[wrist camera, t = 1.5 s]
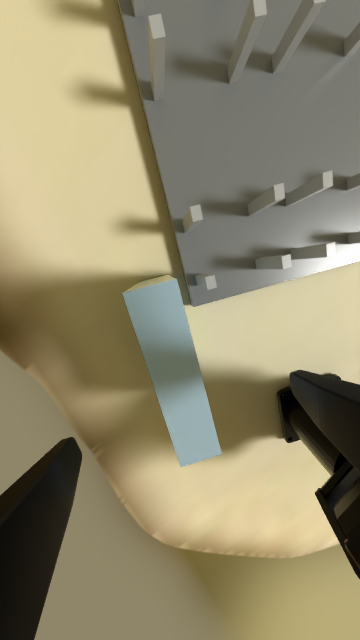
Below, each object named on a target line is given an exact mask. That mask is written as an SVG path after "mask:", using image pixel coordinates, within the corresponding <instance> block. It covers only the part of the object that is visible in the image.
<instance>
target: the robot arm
mask: <svg viewBox="0 0 360 640" xmlns="http://www.w3.org/2000/svg"><path fill="white" fill-rule="evenodd" d="M290 383H291V387H289V388H285V389H282V390H280V391H279V392H278V395H277V396H278V403H279V410H280V417H281V424H282V431H283V437H284V439H285V441H286V442H287V443H291V442H294V441H298V440H302V442H303V443H304V444H305V445H306V446H307V448H308V449H309V450H310V451H311V452H312V454H313V455H314V456H315V457H316V458H317V459H318V461H319V462H320V463H321V464H322V465H323V467H324V468H325V469H326V470H327V471H328V472H329V474H330V475H331V477H330V478H329V479H328V481H327V482H326V483H325V484H324V485H323V486H322V487H321V488H318V490H317V491H316V492H315V495H316V497H317V499H318V501H319V503H320V505H321V507H322V509H323V511H324V513H325V515H326V517H327V519H328V521H329V523H330V525H331V527H332V529H333V531H334V533H335V535H336V537H337V538H338V540H339V542H340V544H341V546H342V548H343V550H344V552H345V554H346V556H347V558H348V560H349V562H350V564H351V566H352V567H353V570H354V571H355V573H356V575H357V576H358V578H359V579H360V385H359V384H355V383H351V382H347V381H343V380H341V378H340V377H339V376H337V375H336V374H332V375H329V376H323V375H319V374H315V373H311V372H308V371H304V370H297V371H293V372H291V373H290ZM283 394H284V395H283ZM282 395H283V396H282ZM81 461H82V453H81V450H80V448H79V446H78V444H77V442H76V440H75V439H74V438H73V437H69V438H66V439H62V440H61V441H60V442H59V443H57V444H56V445H55V446H54V447H53V448H52V449H51V450H50V451H49V452H48V453H46V454H45V455H44V456H43V457H42V458H41V459H40V460H39V461H38V462H37V463H36V464H34V465H33V466H32V467H31V468H30V469H29V470H28V471H27V472H26V473H24V474H23V475H22V476H21V477H20V478H19V479H18V480H17V481H16V482H15V483H14V484H12V485H11V486H10V487H9V488H8V489H7V490H6V491H5V492H4V493H3V494H1V495H0V640H34V638H35V635H36V631H37V628H38V624H39V621H40V617H41V614H42V610H43V607H44V603H45V600H46V596H47V593H48V589H49V586H50V583H51V579H52V576H53V572H54V569H55V565H56V562H57V558H58V555H59V551H60V548H61V544H62V541H63V537H64V534H65V530H66V527H67V523H68V520H69V516H70V513H71V509H72V505H73V501H74V496H75V491H76V486H77V481H78V476H79V471H80V466H81Z"/></svg>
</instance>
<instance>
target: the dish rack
mask: <svg viewBox="0 0 360 640" xmlns="http://www.w3.org/2000/svg"><path fill="white" fill-rule="evenodd" d="M117 3H118V7H119V11H120V15H121V19H122V23H123V27H124V31H125V35H126V39H127V43H128V48H129V52H130V56H131V60H132V64H133V68H134V72H135V76H136V80H137V84H138V88H139V92H140V96H141V101H142V105H143V109H144V113H145V117H146V121H147V125H148V129H149V133H150V137H151V141H152V145H153V149H154V154H155V158H156V162H157V166H158V170H159V174H160V178H161V182H162V186H163V190H164V194H165V198H166V202H167V207H168V211H169V215H170V219H171V223H172V227H173V231H174V235H175V239H176V243H177V247H178V251H179V255H180V260H181V264H182V268H183V272H184V276H185V280H186V284H187V288H188V292H189V296H190V300H191V304H192V306H193V307H195V306H199V305H202V304H206V303H210V302H213V301H217V300H220V299H224V298H228V297H231V296H235V295H238V294H242V293H246V292H249V291H253V290H257V289H260V288H264V287H267V286H271V285H275V284H278V283H282V282H285V281H289V280H293V279H296V278H300V277H303V276H307V275H311V274H314V273H318V272H321V271H325V270H329V269H332V268H336V267H340V266H343V265H347V264H350V263H354V262H358V261H360V0H117Z"/></svg>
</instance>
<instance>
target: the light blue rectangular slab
mask: <svg viewBox="0 0 360 640" xmlns="http://www.w3.org/2000/svg"><path fill="white" fill-rule="evenodd" d="M122 295H123V298H124V301H125V304H126V307H127V309H128V312H129V315H130V318H131V321H132V324H133V327H134V330H135V333H136V336H137V339H138V342H139V345H140V348H141V351H142V354H143V357H144V360H145V363H146V366H147V369H148V372H149V375H150V378H151V381H152V383H153V386H154V389H155V392H156V395H157V398H158V401H159V404H160V407H161V410H162V413H163V416H164V419H165V422H166V425H167V428H168V431H169V434H170V437H171V440H172V443H173V446H174V449H175V452H176V455H177V457H178V460H179V463H180V466H181V467H183V466H186V465H189V464H193V463H196V462H199V461H202V460H205V459H209V458H212V457H215V456H218V455H222V453H221V449H220V445H219V441H218V437H217V433H216V429H215V426H214V422H213V418H212V414H211V410H210V406H209V402H208V398H207V394H206V390H205V387H204V383H203V379H202V375H201V371H200V367H199V363H198V359H197V355H196V352H195V348H194V344H193V340H192V336H191V332H190V328H189V324H188V320H187V316H186V313H185V309H184V305H183V301H182V297H181V293H180V289H179V285H178V281H177V278H174V277H172V276H170V275H164V276H160V277H156V278H153V279H149V280H145V281H142V282H139V283H137V284H136V285H134V286H133V287H131V288H129V289H128V290H126V291H125V292H123V293H122Z"/></svg>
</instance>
